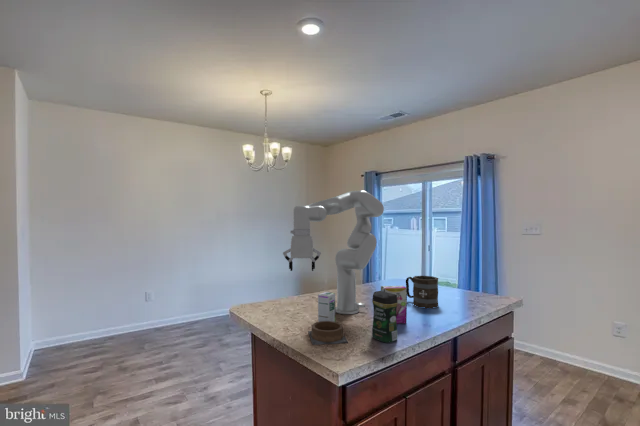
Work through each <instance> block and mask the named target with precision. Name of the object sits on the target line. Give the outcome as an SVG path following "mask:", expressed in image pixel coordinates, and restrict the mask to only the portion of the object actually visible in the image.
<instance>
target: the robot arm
mask: <svg viewBox="0 0 640 426" xmlns="http://www.w3.org/2000/svg"><path fill="white" fill-rule="evenodd" d="M353 208H354V213H355V216H356V224H355V226H354V228H353V230H352V232H351V233H350V235H349V237H348V239H347V243H346V245H347V247H348V248H341V249H340V250H338V251H337V252H336V254H335V258H334V259H335V265H336V276H337V277H336V279H337V282H336V283H337V284H336V285H337V286H336V292H337V293H336V302H337V303H336V306H335V311H336V314H340V315H355V314H358V313H359V312H360V308H366V303H362V302H357V275H356V271H355V270H357V271H358V270H359V271H360V270H364V269H365V268H366V267H367V265H368V264H369V262H370V261H371V258H372V256H373V254H374V252H375V250H376V248H377V238H376V236H375V234H372V233H371V232H372V223H371V220H370V218H379V217H381V216H382V215H383V214H384V211H385V208H384V204H383V203H382V201H381V200H379V199H378V198H376V197H375V196H374V195H373V194H371V193H369V192H368V191H366V190H362V189H361V190H360V189H359V190H351V191H346V192H345V193H342V194H340V195H337V196H333V197H329V198H326V199H323V200H319V201H316V202H315V201H314V202H312V203H310V204H307V205H295V206H294V208H293V229H292V230H290V234H293V235H292V236H291V239H290V240H291V241H290V248H289V249H286V250H285V251H283V252H282V255H283V256H284V259H285V260H286V261H287V262H288V269H289V270H290V272H293V270H294V269H293V268H294V267H293V265H294V264H293V260H294V259H310V260H311V271H312V272H313V271H314V270H315V269H316V264H315V263H316V261H317V260H319V258H320V256H321V254H322V252H321V251H320V250H318V249H316V248H315V247H314V242H313V236H312V235H311V223H312V222H313V223H314V222H316V223H319V222H322V221H324V220H325V219H326V218H327V216H329V215H330V216H331V215H338V214H342V213H344V212H345V211H348V210H351V209H353ZM289 253H290V257H289V256H288V254H289ZM314 253H315V254H316V256H315V257H314Z"/></svg>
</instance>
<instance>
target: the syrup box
mask: <svg viewBox="0 0 640 426" xmlns="http://www.w3.org/2000/svg"><path fill="white" fill-rule="evenodd" d="M335 307H336V293H335V292H329V291H324V292H322V293H319V294H317V318H318V319H317V322H320V321H333V322H337V321H336V320H337V319H336V317H337V316H336V315H337V313H336V311H335Z"/></svg>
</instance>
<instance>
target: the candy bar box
mask: <svg viewBox="0 0 640 426" xmlns="http://www.w3.org/2000/svg"><path fill="white" fill-rule="evenodd" d="M380 291H384V292H388V293H392V294H396V295H397V301H398V304H397V308H396V322H397V325H400V324H401V325H403V324H407V319H408V318H407V315H408V314H407V311H408V310H407V308H408V305H407V304H408V299H407V298H408V296H407V288H406V286H404V285H380Z"/></svg>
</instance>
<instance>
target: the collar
mask: <svg viewBox="0 0 640 426" xmlns="http://www.w3.org/2000/svg"><path fill="white" fill-rule="evenodd" d="M344 331H345V330H344V325H343V323H340V322H338V321H336V322H333V321H320V322H318V321H316V322H314V323H313V324H311V330H308V335H309V338H310V341H311V344H312V346H314V345H315V346H316V345H332V344H333V345H334V344H336V345H337V344H348V343H349V340H348V339H347V338H346V336H345V333H344Z"/></svg>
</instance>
